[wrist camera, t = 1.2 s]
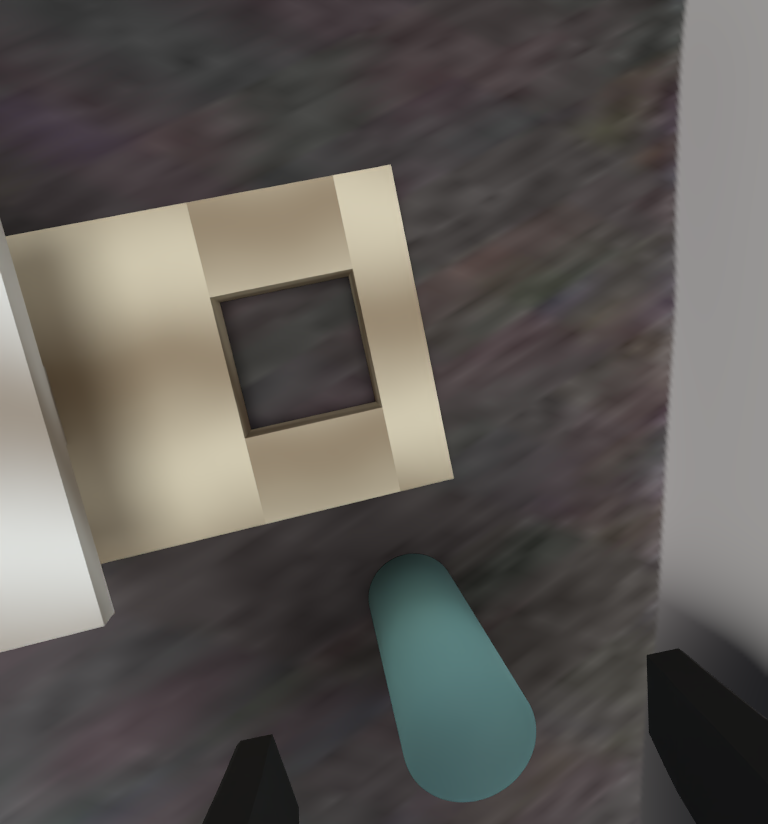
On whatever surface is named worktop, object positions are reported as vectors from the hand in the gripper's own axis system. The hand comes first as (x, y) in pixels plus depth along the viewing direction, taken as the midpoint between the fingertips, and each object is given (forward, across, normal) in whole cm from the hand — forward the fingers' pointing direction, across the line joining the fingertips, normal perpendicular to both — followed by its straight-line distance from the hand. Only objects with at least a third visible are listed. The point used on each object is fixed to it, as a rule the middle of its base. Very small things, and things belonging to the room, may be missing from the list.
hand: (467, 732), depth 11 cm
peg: (+10, +1, +4) cm, 11 cm away
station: (+11, +6, -5) cm, 14 cm away
